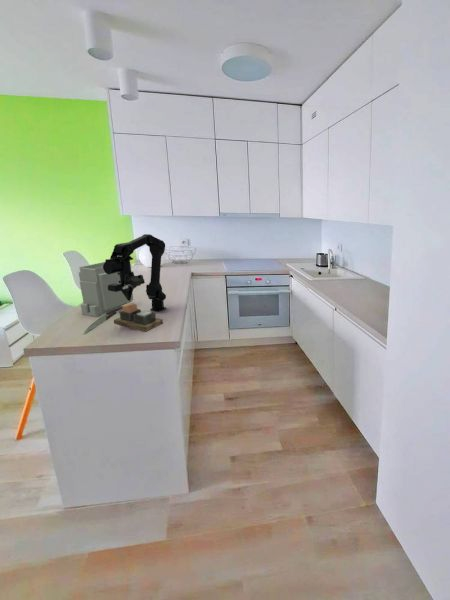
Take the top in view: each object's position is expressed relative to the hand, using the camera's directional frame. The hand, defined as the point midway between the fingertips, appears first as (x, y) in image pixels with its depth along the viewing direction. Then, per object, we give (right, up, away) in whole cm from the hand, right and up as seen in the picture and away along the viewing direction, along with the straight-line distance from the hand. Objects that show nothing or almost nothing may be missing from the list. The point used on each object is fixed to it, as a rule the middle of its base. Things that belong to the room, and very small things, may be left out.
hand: (129, 300), depth 144 cm
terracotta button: (0, -6, +2) cm, 7 cm away
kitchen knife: (-15, -12, +3) cm, 20 cm away
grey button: (+9, -10, -2) cm, 13 cm away
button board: (+4, -12, +1) cm, 12 cm away
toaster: (-20, -5, +26) cm, 34 cm away
